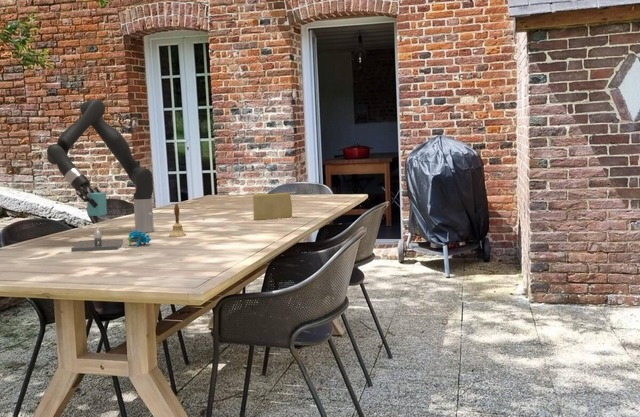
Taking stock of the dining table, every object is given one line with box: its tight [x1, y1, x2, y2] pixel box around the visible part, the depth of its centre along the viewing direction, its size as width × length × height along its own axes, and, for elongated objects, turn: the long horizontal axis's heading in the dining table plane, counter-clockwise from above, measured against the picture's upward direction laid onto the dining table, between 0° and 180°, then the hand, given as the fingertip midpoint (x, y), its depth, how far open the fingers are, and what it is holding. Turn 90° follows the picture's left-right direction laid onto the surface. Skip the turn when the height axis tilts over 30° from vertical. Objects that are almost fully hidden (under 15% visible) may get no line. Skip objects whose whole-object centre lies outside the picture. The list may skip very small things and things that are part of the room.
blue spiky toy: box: [127, 229, 152, 247], centre depth 324 cm, size 11×6×10 cm
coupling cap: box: [86, 192, 108, 217], centre depth 324 cm, size 6×6×10 cm
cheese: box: [252, 192, 293, 221], centre depth 405 cm, size 22×10×15 cm, turn 93°
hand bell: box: [169, 203, 187, 238], centre depth 351 cm, size 8×8×16 cm
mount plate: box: [70, 227, 124, 252], centre depth 323 cm, size 20×20×9 cm
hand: (100, 205), depth 324 cm, fingers closed on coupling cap, 6 cm apart
